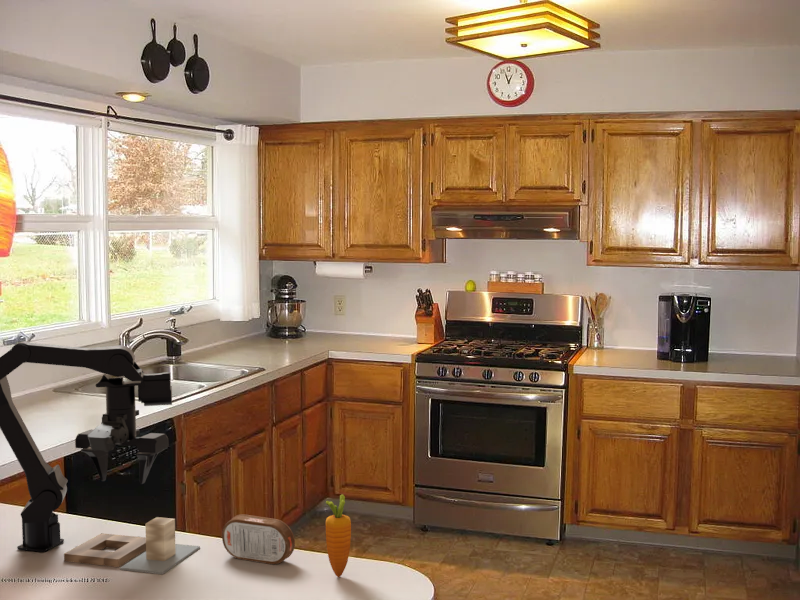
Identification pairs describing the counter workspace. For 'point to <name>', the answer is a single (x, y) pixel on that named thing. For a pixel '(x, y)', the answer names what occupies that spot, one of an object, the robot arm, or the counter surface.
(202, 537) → the counter surface
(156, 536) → the block
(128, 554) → the pocket board
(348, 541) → the carrot
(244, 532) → the tin
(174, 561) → the mat
